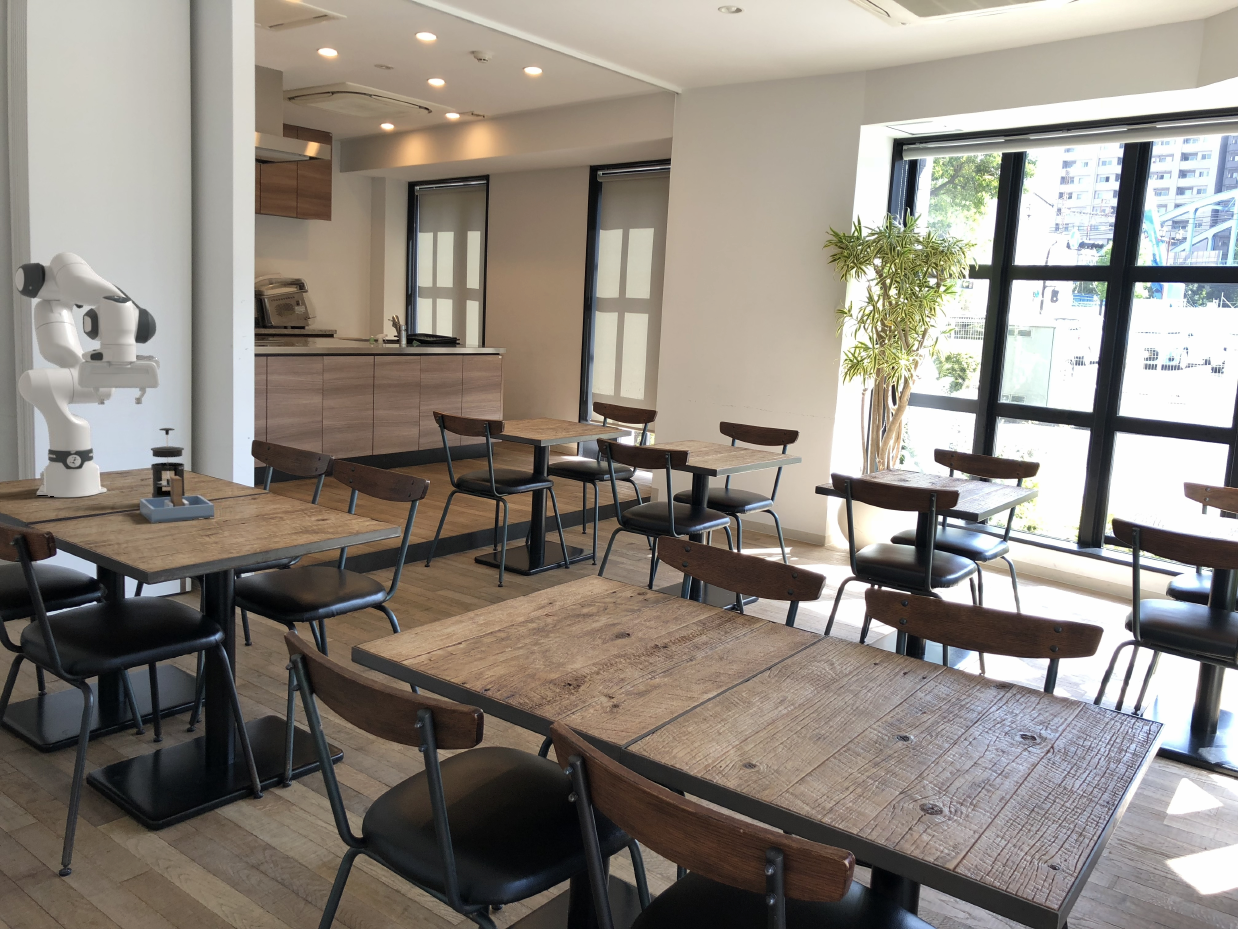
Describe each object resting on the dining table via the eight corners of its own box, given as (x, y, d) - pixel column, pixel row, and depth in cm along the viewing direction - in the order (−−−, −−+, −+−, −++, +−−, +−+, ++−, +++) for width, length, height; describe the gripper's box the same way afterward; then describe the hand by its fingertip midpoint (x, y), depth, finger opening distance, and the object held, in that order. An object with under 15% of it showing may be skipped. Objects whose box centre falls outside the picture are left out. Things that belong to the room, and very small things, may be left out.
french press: (143, 503, 278) (141, 427, 274) (171, 499, 286) (170, 425, 282) (167, 508, 272) (165, 431, 269) (196, 504, 280) (194, 429, 277)
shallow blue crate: (140, 512, 265) (139, 499, 264) (199, 508, 275) (199, 495, 274) (152, 523, 253) (152, 509, 252) (214, 518, 262) (213, 504, 262)
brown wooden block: (170, 510, 265) (170, 476, 263) (178, 510, 266) (177, 476, 265) (175, 514, 261) (174, 479, 259) (182, 513, 262) (182, 478, 261)
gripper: (156, 355, 266) (158, 402, 268) (75, 353, 254) (77, 403, 256) (161, 356, 261) (162, 404, 263) (79, 354, 249) (80, 405, 251)
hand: (120, 404), depth 260 cm, fingers open, 8 cm apart
